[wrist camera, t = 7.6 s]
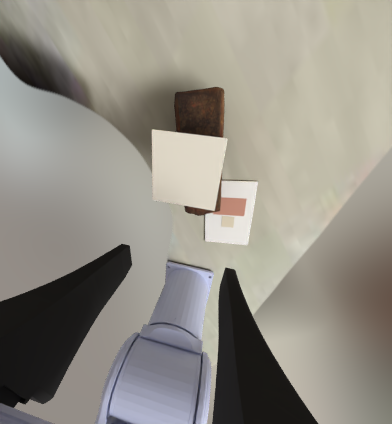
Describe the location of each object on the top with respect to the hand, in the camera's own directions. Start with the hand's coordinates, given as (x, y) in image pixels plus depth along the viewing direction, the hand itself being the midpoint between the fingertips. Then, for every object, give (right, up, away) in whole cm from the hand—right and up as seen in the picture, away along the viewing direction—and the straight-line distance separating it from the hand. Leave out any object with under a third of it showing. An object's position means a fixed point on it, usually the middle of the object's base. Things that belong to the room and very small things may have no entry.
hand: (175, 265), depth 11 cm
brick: (+3, +10, +6) cm, 12 cm away
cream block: (+2, +8, +2) cm, 9 cm away
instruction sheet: (+6, +4, +9) cm, 11 cm away
